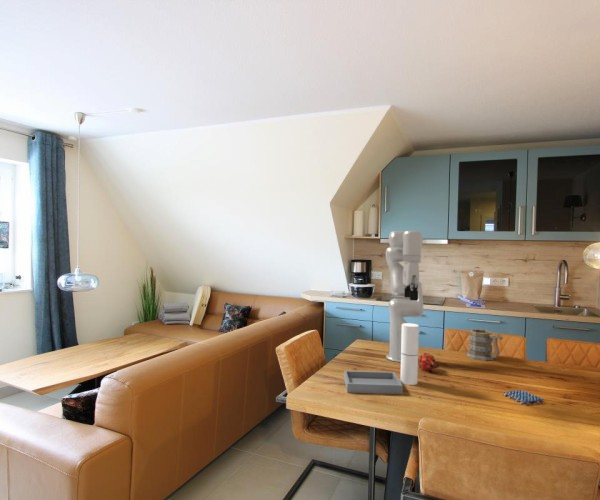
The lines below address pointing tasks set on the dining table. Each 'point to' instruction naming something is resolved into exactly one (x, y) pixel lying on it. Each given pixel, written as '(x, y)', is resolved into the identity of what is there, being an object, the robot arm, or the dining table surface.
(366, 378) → the tray
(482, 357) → the tankard
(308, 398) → the dining table surface
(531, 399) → the woven mat
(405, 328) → the cylindrical container
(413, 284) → the robot arm
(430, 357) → the dragon fruit
